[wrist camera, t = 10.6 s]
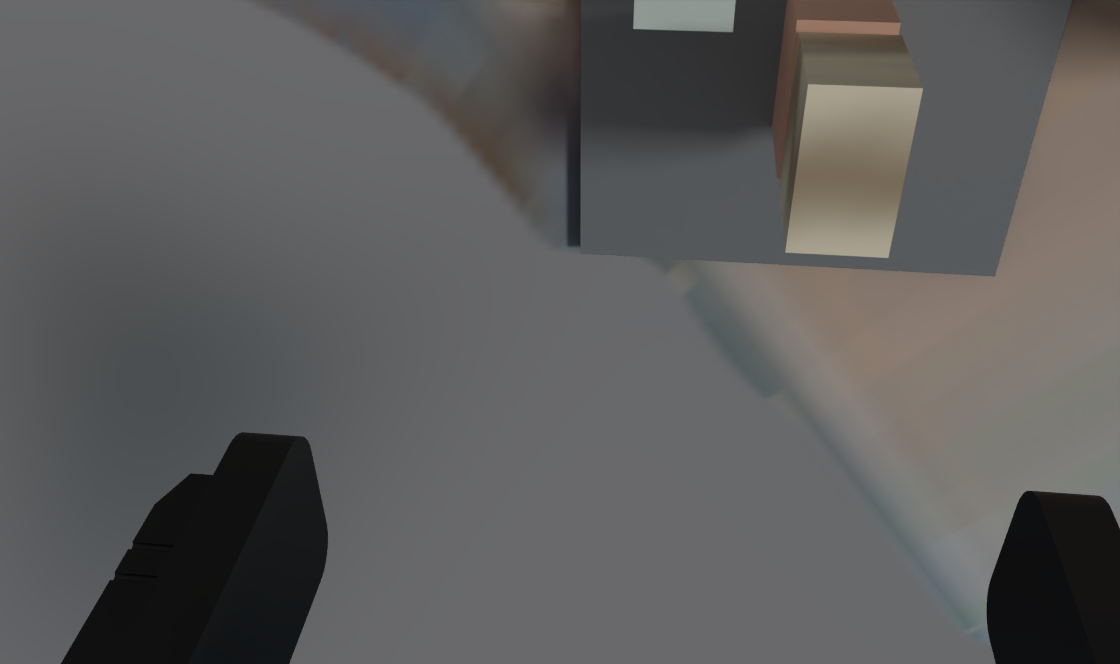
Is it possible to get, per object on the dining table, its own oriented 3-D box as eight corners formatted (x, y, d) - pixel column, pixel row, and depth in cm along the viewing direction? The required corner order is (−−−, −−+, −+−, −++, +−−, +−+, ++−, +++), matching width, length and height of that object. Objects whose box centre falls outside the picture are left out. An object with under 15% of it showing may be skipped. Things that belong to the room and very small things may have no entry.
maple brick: (799, 31, 35) (808, 84, 32) (901, 35, 35) (923, 88, 31) (778, 189, 39) (785, 252, 35) (872, 193, 38) (888, 257, 35)
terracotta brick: (789, -22, 39) (797, 19, 35) (883, -20, 38) (900, 23, 35) (772, 127, 42) (776, 179, 38) (857, 131, 42) (870, 183, 38)
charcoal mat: (582, -256, 35) (581, -254, 35) (1136, -254, 34) (1142, -251, 33) (581, 246, 47) (580, 253, 47) (991, 268, 45) (994, 276, 45)
